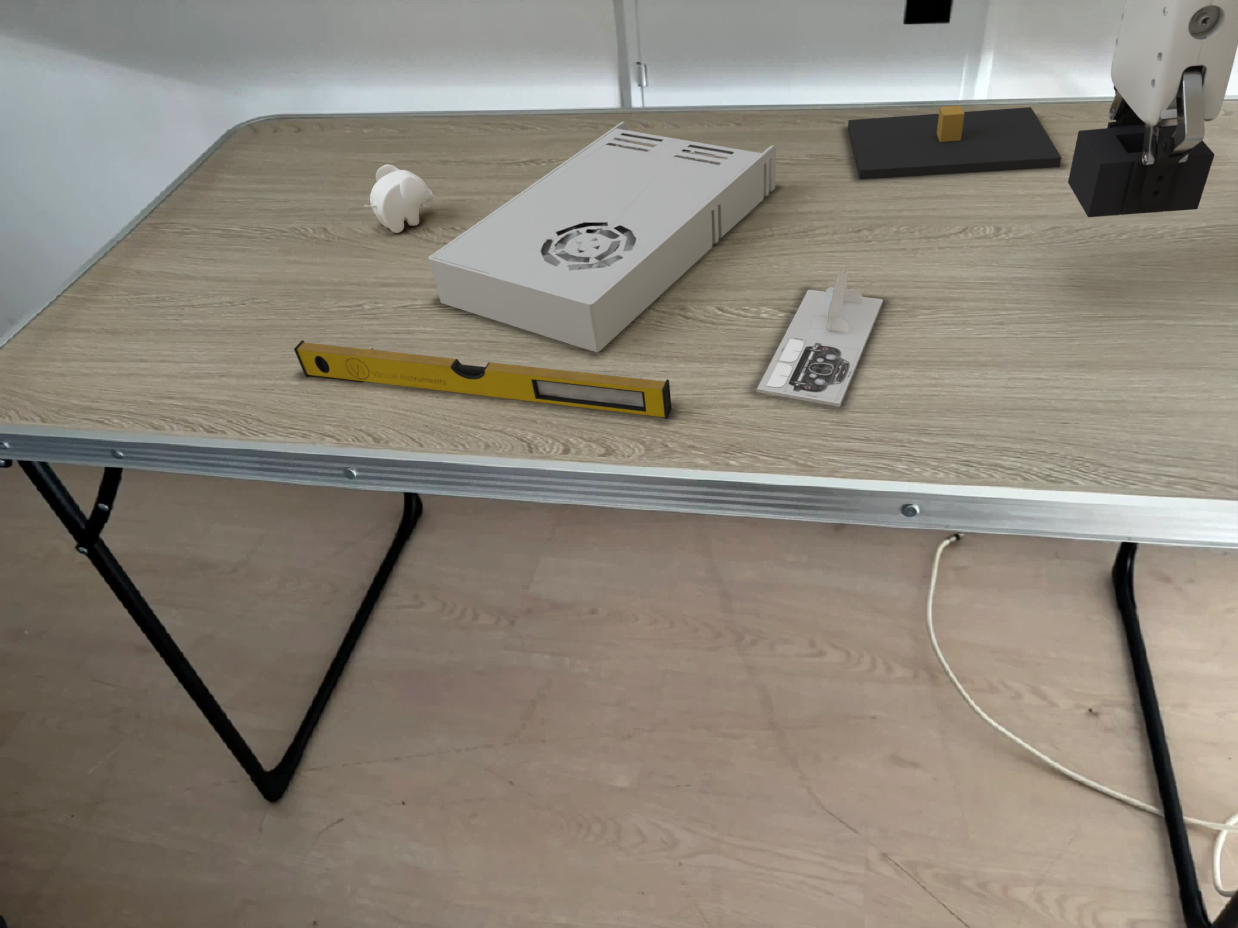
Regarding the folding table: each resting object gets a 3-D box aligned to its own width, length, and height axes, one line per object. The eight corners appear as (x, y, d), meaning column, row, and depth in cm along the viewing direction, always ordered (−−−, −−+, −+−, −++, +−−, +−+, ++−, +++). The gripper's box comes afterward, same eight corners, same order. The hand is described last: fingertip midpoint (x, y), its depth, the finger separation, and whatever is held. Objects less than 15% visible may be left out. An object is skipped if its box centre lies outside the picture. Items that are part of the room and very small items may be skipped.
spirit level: (305, 376, 82) (293, 348, 80) (313, 367, 83) (301, 339, 81) (667, 420, 72) (664, 389, 70) (672, 409, 73) (669, 379, 71)
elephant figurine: (452, 219, 101) (440, 167, 97) (388, 247, 98) (372, 195, 94) (422, 200, 105) (409, 150, 101) (360, 227, 102) (344, 176, 98)
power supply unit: (776, 189, 98) (776, 143, 95) (599, 354, 79) (591, 305, 76) (629, 161, 107) (624, 119, 104) (439, 304, 88) (426, 258, 85)
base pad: (1029, 117, 104) (1036, 79, 102) (1059, 168, 95) (1068, 128, 92) (847, 129, 107) (849, 93, 104) (859, 180, 98) (862, 142, 95)
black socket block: (1170, 174, 76) (1186, 120, 73) (1197, 209, 71) (1215, 154, 68) (1067, 182, 77) (1078, 130, 74) (1087, 217, 73) (1100, 163, 70)
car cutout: (808, 293, 83) (809, 248, 80) (882, 303, 80) (887, 258, 77) (756, 393, 73) (755, 347, 70) (840, 408, 71) (843, 361, 68)
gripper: (1319, -32, 55) (1225, 239, 67) (1209, -101, 67) (1147, 137, 80) (1182, -17, 56) (1114, 247, 68) (1099, -88, 69) (1054, 145, 81)
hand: (1132, 186), depth 74 cm, fingers closed on black socket block, 6 cm apart
